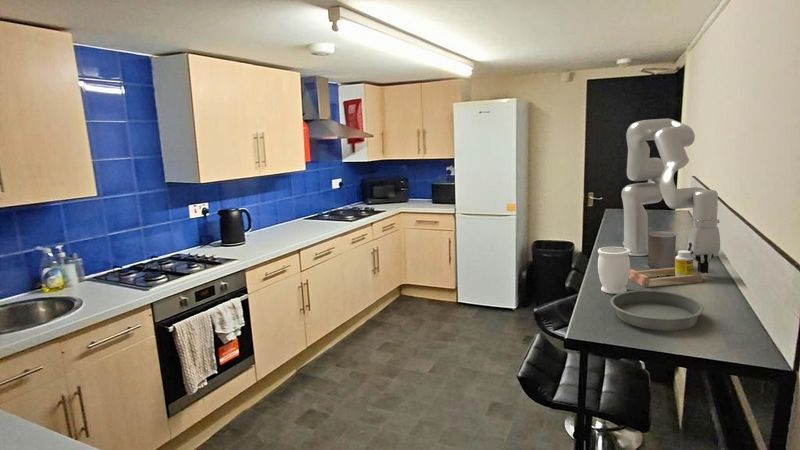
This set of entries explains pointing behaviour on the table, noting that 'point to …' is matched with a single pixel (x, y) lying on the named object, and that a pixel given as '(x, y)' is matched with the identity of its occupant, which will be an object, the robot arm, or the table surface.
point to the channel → (644, 275)
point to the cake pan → (657, 309)
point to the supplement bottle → (683, 263)
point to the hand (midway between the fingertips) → (702, 272)
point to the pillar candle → (661, 249)
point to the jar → (613, 269)
